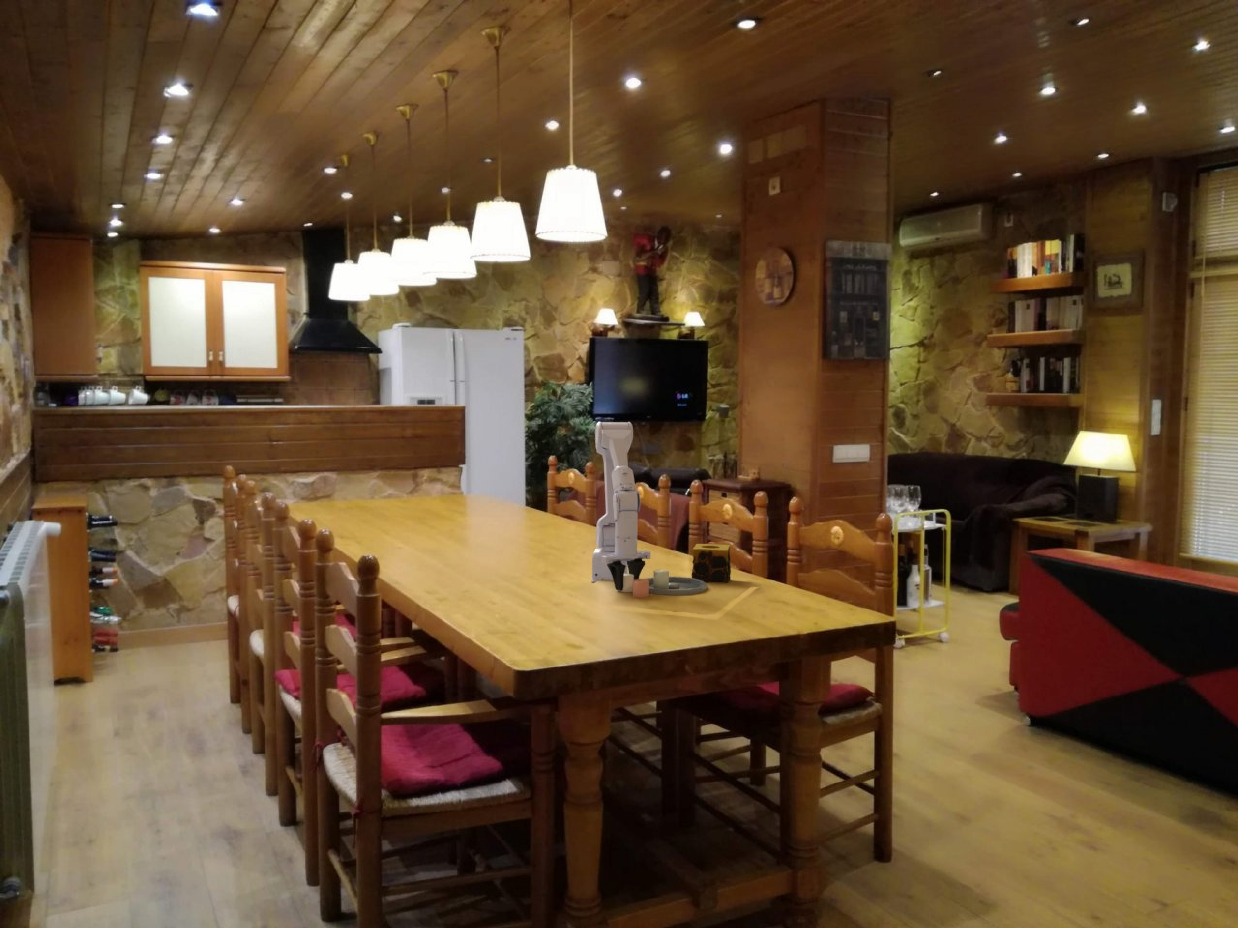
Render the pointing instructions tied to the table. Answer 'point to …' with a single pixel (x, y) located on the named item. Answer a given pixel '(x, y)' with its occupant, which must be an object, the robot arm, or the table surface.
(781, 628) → the table surface
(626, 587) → the bead
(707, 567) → the yellow black patterned cube
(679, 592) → the groove tray
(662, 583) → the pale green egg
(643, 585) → the bead
